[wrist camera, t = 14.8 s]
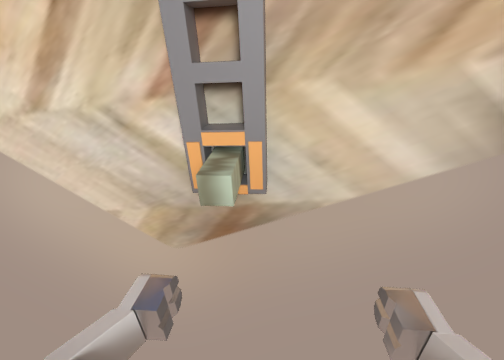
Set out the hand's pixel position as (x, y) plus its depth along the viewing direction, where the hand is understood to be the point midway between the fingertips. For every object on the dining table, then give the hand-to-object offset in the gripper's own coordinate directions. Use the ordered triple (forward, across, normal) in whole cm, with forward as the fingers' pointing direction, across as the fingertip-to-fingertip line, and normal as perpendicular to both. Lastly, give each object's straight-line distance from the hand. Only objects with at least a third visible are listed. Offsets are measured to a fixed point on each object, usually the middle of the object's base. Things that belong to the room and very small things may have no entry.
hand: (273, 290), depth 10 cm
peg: (+31, +8, +6) cm, 33 cm away
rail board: (+31, +8, -3) cm, 32 cm away
